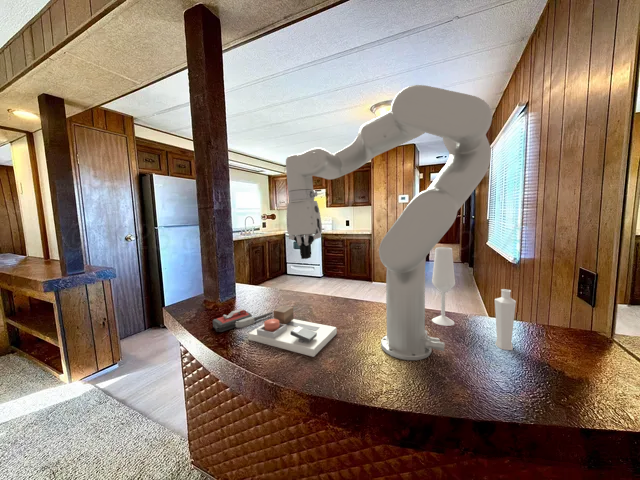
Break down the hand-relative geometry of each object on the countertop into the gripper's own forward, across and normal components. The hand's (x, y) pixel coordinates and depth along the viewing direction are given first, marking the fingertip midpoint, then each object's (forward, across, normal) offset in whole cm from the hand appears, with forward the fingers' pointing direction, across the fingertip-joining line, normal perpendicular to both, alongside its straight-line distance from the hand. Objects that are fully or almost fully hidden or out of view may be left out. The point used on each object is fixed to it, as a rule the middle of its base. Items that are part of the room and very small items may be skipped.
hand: (306, 258), depth 77 cm
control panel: (+23, +4, +5) cm, 24 cm away
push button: (+20, +8, +9) cm, 23 cm away
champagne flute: (+25, -36, -22) cm, 49 cm away
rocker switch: (+20, -2, +9) cm, 22 cm away
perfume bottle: (+26, -51, -11) cm, 58 cm away
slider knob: (+20, +9, +2) cm, 22 cm away
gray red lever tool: (+22, +26, +3) cm, 34 cm away
